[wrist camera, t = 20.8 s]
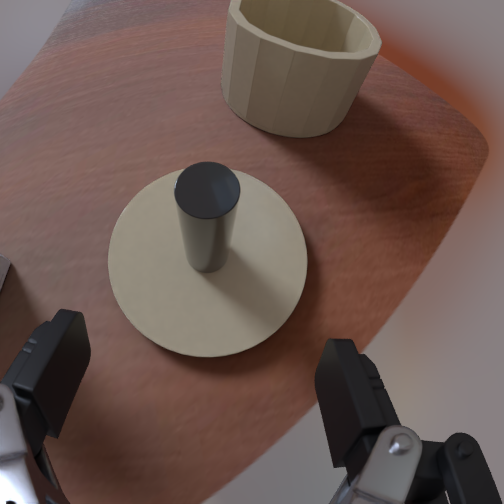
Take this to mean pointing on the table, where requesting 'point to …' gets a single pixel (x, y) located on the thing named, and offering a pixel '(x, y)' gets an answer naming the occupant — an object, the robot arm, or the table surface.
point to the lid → (207, 261)
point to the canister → (295, 63)
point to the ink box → (3, 269)
